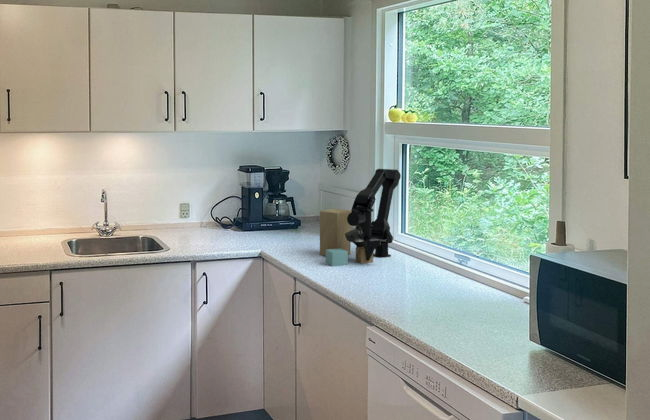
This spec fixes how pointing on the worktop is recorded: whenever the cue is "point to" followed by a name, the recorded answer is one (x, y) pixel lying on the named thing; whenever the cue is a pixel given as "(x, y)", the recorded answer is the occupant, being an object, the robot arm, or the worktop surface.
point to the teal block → (336, 257)
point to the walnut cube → (362, 255)
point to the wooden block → (334, 230)
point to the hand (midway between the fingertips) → (364, 259)
